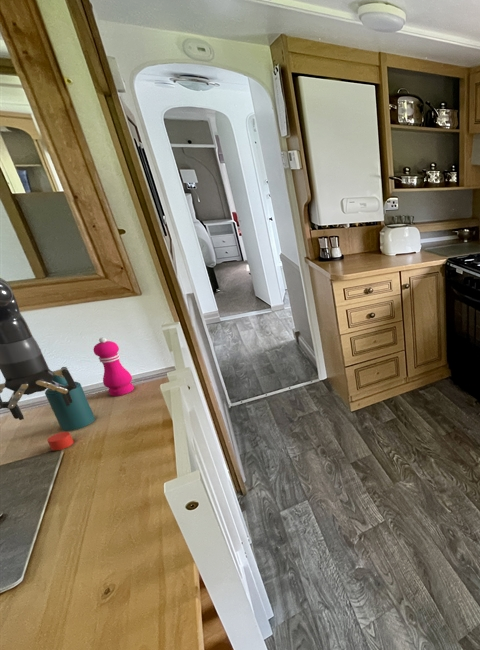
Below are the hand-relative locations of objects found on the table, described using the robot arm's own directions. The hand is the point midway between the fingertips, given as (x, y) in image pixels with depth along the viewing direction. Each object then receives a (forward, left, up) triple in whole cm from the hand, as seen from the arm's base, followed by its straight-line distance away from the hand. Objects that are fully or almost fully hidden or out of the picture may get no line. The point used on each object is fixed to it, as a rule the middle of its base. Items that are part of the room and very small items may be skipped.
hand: (45, 411), depth 99 cm
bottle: (0, +10, -10) cm, 15 cm away
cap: (+1, -1, -10) cm, 11 cm away
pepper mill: (+4, +28, -11) cm, 31 cm away
